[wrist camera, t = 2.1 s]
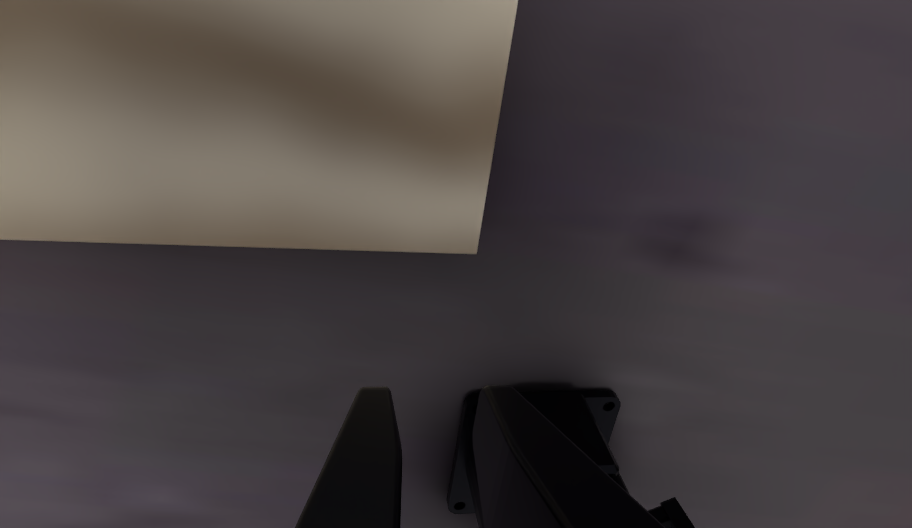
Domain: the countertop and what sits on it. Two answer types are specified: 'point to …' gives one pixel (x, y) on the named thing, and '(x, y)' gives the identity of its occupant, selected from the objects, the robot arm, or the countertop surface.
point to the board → (251, 121)
